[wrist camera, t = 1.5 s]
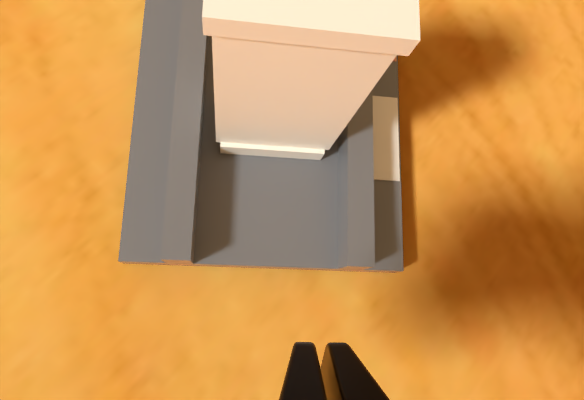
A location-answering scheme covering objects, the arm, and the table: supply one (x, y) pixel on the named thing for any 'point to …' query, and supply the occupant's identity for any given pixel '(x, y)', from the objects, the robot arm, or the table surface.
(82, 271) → the table surface
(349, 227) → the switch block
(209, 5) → the tab
